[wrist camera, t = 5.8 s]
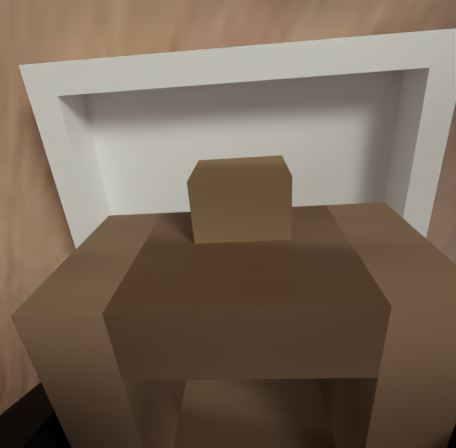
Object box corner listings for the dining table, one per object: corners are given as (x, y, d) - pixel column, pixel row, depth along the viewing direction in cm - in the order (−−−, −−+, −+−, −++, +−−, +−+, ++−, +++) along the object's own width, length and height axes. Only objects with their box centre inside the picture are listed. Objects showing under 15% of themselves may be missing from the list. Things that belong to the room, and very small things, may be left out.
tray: (427, 36, 11) (471, 27, 9) (378, 331, 17) (397, 367, 15) (57, 67, 12) (18, 65, 10) (129, 337, 18) (114, 372, 16)
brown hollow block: (356, 395, 10) (410, 547, 7) (154, 396, 10) (113, 540, 7) (392, 148, 7) (531, 214, 3) (96, 166, 7) (-25, 239, 4)
